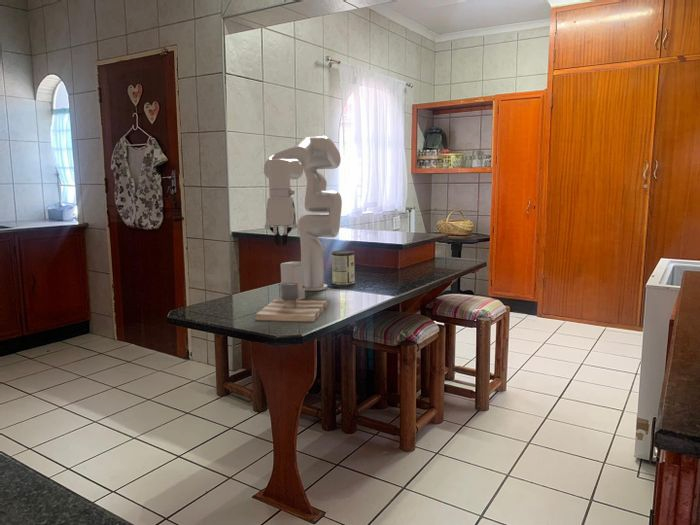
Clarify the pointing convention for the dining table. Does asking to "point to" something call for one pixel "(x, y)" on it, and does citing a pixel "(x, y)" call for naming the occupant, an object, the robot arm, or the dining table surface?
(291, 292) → the grey orange long piece
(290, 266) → the skincare box
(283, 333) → the dining table surface
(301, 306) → the base
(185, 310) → the dining table surface
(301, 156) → the robot arm
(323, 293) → the dining table surface
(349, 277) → the coffee can
